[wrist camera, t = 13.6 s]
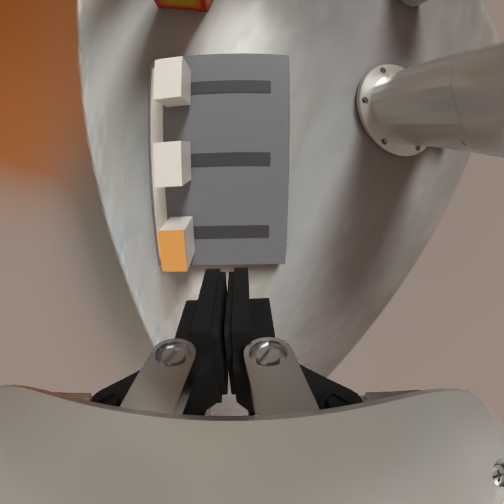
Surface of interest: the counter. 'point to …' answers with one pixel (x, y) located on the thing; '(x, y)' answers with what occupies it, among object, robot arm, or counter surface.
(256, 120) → the panel
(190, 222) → the handle
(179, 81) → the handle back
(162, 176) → the handle mid
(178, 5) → the baking soda box
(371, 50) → the counter surface
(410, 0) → the lotion bottle
